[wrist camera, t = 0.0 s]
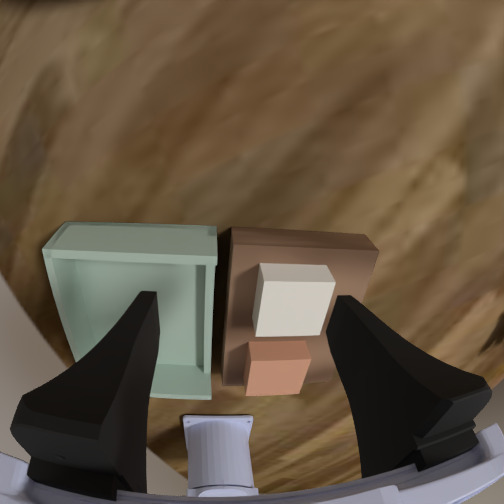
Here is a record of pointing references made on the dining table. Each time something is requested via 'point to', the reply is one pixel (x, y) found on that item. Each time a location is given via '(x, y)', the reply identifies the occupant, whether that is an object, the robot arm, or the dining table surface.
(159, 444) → the dining table surface
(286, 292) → the white tile
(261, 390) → the terracotta tile
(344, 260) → the walnut plate
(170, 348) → the green bin
